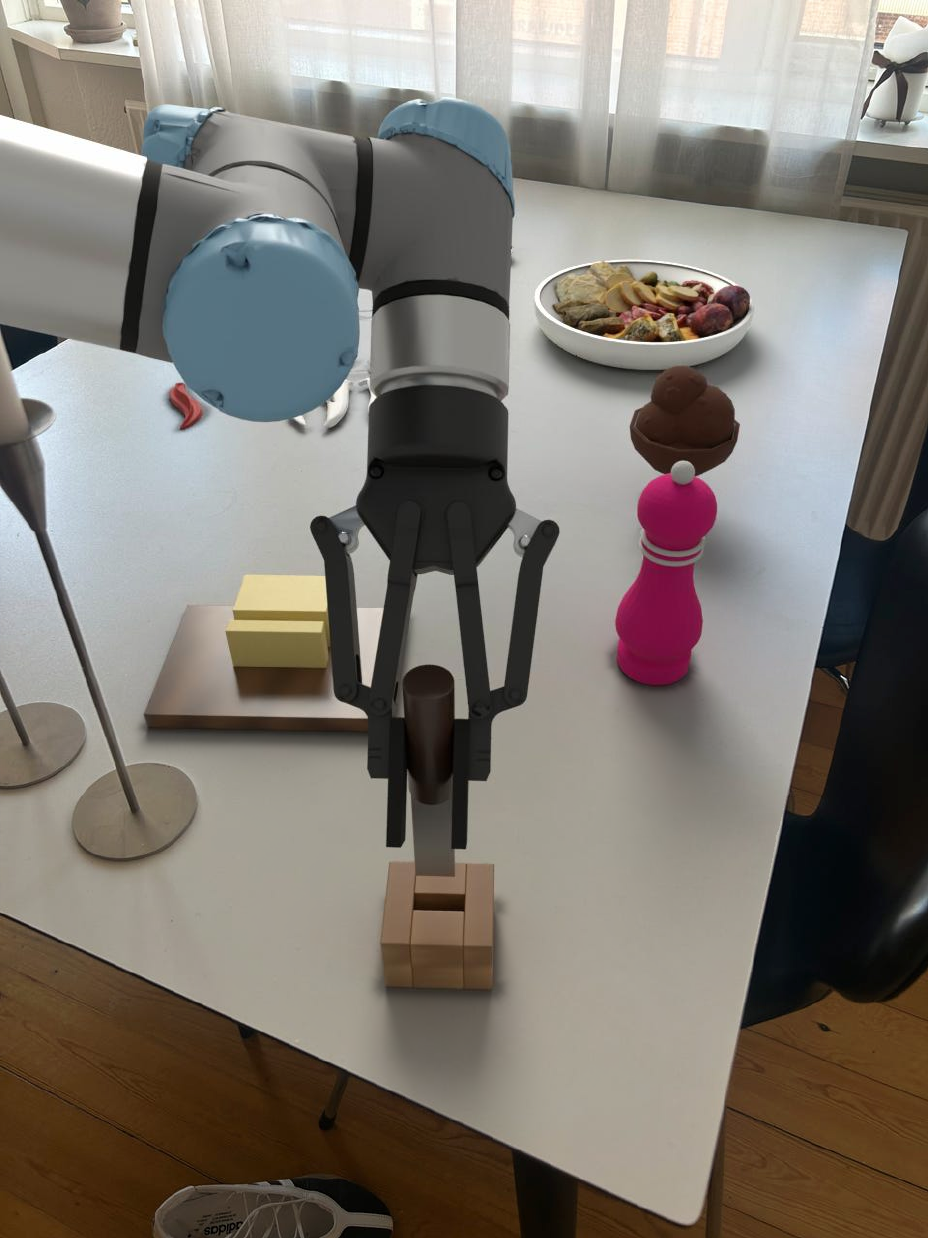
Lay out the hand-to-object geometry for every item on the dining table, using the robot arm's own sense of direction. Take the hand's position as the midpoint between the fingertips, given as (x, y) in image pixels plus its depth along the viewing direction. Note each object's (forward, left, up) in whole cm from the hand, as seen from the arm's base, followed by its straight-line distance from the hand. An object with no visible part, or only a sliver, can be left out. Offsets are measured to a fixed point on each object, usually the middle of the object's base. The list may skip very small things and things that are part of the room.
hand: (427, 843), depth 50 cm
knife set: (-15, +89, -16) cm, 92 cm away
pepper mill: (+17, +32, -16) cm, 40 cm away
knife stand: (0, +4, -16) cm, 17 cm away
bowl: (+23, +101, -16) cm, 105 cm away
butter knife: (0, +4, -8) cm, 9 cm away
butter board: (-15, +30, -16) cm, 37 cm away
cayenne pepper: (-36, +78, -16) cm, 87 cm away
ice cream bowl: (+22, +57, -16) cm, 63 cm away
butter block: (-15, +34, -15) cm, 40 cm away
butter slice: (-15, +29, -15) cm, 36 cm away
